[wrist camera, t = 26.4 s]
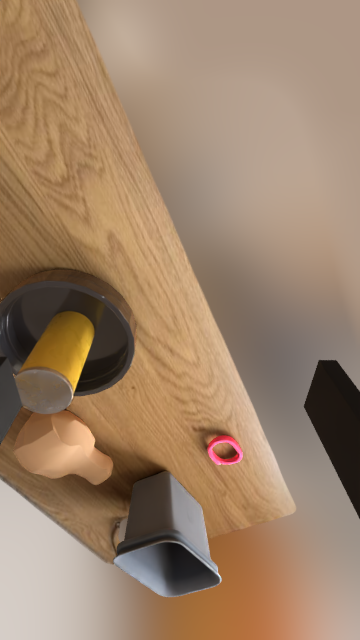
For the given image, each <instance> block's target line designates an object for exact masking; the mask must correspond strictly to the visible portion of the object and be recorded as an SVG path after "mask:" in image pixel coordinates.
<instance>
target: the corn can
mask: <svg viewBox="0 0 360 640" xmlns="http://www.w3.org/2000/svg"><path fill="white" fill-rule="evenodd" d="M94 334H95V330H94V326H93V324H92V323H91V321H90V320H89V319H88V318H87V317H86V316H84V315H82V314H80V313H78V312H74V311H64V312H61V313H58V314H57V315H55V316H54V317H53V318H52V320H51V321H50V323H49V325H48V326H47V328H46V329H45V331H44V332H43V334H42V336H41V337H40V339H39V340H38V342H37V344H36V345H35V347H34V348H33V350H32V352H31V353H30V355H29V356H28V358H27V359H26V361H25V363H24V364H23V366H22V367H21V369H20V371H19V372H18V374H17V375H16V376H15V378H14V379H15V382H16V385H17V389H18V392H19V395H20V398H21V402H22V406H23V407H24V408H26V409H28V410H30V411H33V412H36V413H42V414H52V413H57V412H60V411H62V410H64V409H65V408H67V407H68V406H69V404H70V403H71V401H72V398H73V394H74V391H75V388H76V386H77V383H78V380H79V377H80V375H81V372H82V369H83V366H84V363H85V361H86V358H87V355H88V352H89V349H90V347H91V344H92V341H93V338H94Z"/></svg>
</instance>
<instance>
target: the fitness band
mask: <svg viewBox="0 0 360 640" xmlns="http://www.w3.org/2000/svg"><path fill="white" fill-rule="evenodd" d="M221 442H227V443H230V444H231V445H232V446H233V447H234V448H235V449H236V451H237V452H238V453H237V455H236V456H235V457H233V458H231V459H221V458H219V457H218V456H217V455H216V454H215V453H214V452H213V450H212V448H213V446H214V445H216V444H218V443H221ZM207 451H208V454H209V456H210V457H211V459H212V460H213V461H214V462H215V463H216V464H217V465H220V463H222V464H234V463H237V462H239V461H240V460H241V459H242V450H241V448H240V446H239V445H238V444H237V442H236V441H235V440H234V439H233V438H232V437H230V436H227V435H222V436H218V437H216V438H214V439H213V440H212V441H211V442H210V443H209V445H208V447H207Z"/></svg>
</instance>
